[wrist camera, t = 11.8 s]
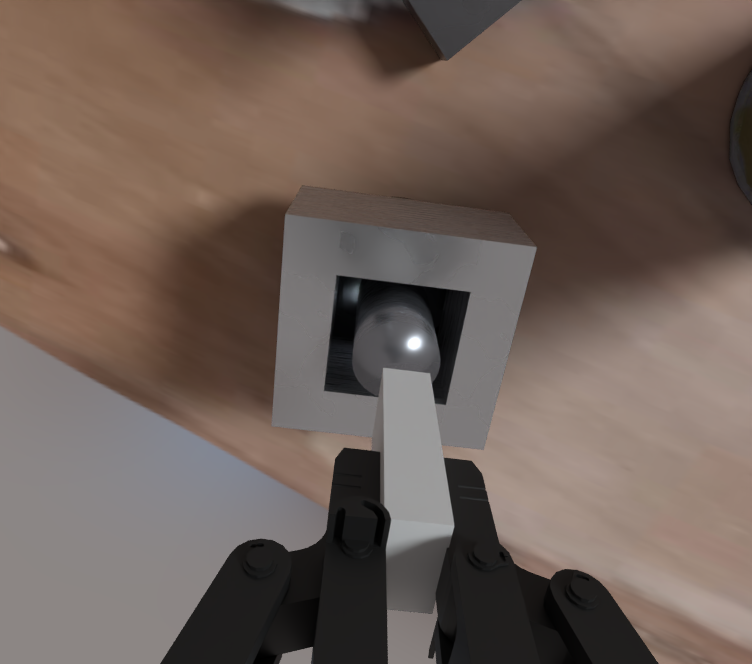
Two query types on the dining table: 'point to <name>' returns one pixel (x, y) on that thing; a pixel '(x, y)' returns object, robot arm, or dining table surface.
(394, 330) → the cylinder
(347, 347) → the grey square ring block
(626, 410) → the dining table surface
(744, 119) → the canister
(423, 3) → the stand
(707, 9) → the dining table surface
